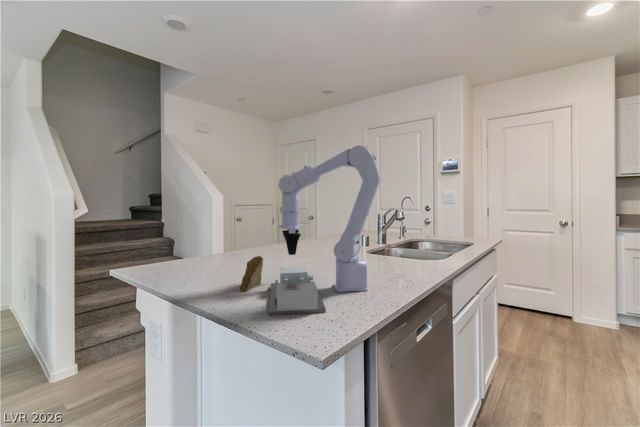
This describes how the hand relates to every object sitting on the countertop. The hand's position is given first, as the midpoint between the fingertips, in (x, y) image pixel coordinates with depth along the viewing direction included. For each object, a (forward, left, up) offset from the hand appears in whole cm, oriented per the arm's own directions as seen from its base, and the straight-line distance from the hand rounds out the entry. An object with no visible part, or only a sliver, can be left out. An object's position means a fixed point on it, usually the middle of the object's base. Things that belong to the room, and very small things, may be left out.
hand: (291, 252), depth 102 cm
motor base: (0, +15, -10) cm, 19 cm away
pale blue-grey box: (-1, +10, -9) cm, 13 cm away
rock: (+14, +2, -11) cm, 18 cm away
